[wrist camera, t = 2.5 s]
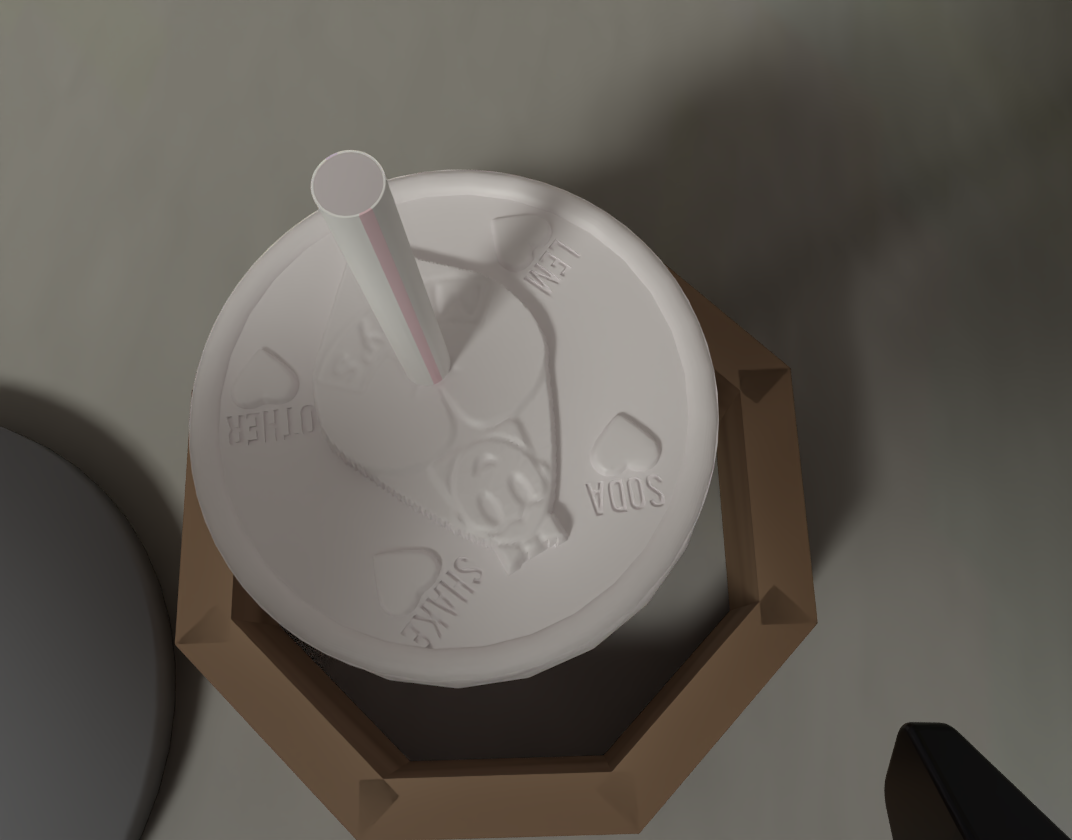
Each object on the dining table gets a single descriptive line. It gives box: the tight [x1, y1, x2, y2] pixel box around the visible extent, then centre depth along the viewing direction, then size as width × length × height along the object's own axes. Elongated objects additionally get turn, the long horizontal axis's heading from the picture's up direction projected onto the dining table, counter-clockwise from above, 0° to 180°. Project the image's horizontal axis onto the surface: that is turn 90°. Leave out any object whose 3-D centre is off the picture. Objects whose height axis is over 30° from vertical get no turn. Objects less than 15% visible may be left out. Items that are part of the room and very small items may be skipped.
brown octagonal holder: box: [175, 263, 818, 840], centre depth 19 cm, size 12×12×3 cm
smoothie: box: [189, 150, 719, 688], centre depth 13 cm, size 6×6×14 cm
